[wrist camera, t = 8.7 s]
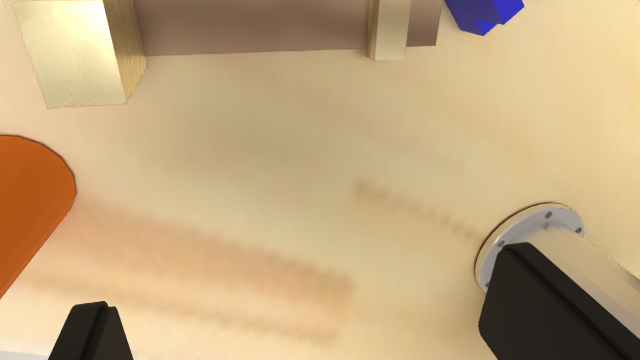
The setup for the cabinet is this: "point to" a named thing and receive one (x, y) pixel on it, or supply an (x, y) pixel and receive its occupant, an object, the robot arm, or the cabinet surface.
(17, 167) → the spray bottle
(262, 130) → the cabinet surface
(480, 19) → the cable clip
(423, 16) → the beam
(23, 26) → the slider
